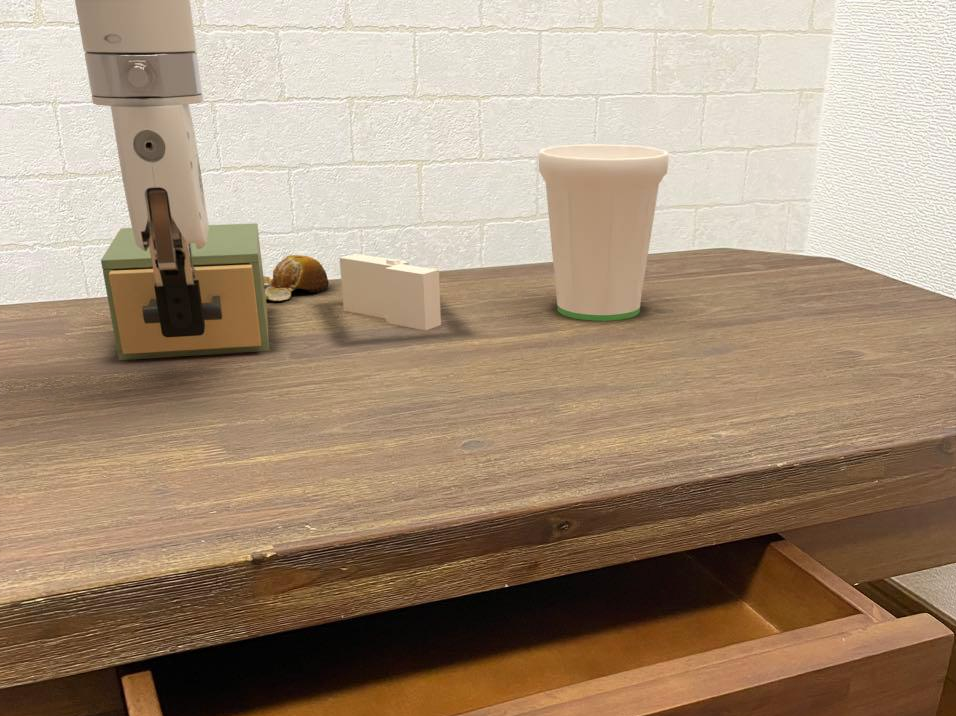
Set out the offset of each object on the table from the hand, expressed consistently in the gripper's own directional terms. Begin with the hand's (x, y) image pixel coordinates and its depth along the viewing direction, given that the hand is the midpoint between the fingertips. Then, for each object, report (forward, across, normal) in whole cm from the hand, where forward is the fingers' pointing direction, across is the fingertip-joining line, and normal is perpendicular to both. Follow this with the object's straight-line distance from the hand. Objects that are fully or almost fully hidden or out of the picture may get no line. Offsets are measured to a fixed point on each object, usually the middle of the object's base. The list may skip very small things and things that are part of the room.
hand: (184, 333), depth 82 cm
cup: (+4, +15, -39) cm, 42 cm away
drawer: (+3, +11, 0) cm, 11 cm away
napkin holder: (+4, +16, -18) cm, 24 cm away
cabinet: (+4, +15, 0) cm, 16 cm away
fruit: (+4, +30, -8) cm, 31 cm away
